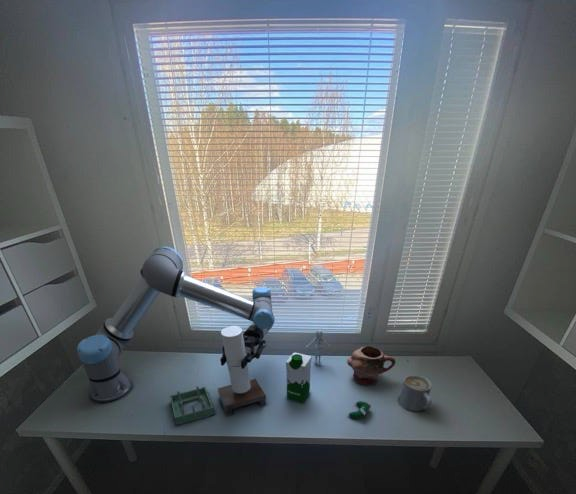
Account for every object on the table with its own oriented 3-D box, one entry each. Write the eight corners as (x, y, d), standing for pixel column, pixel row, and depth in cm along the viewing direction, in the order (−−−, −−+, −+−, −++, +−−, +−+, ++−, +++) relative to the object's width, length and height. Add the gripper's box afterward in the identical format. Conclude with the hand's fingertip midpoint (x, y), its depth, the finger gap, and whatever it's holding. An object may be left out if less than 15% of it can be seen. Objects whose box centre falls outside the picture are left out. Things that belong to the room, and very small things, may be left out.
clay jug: (386, 370, 147) (392, 343, 139) (395, 386, 137) (401, 359, 129) (343, 371, 146) (346, 344, 138) (348, 387, 136) (351, 360, 128)
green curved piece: (353, 423, 121) (365, 418, 117) (347, 415, 121) (359, 410, 117) (362, 409, 128) (374, 404, 124) (356, 401, 127) (368, 396, 123)
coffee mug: (395, 395, 132) (399, 375, 126) (418, 393, 133) (423, 373, 127) (409, 418, 121) (415, 397, 115) (434, 415, 122) (441, 395, 116)
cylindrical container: (246, 394, 121) (237, 337, 106) (229, 391, 123) (217, 335, 108) (253, 382, 127) (245, 326, 112) (236, 380, 128) (226, 325, 113)
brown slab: (219, 397, 131) (217, 388, 128) (256, 387, 136) (255, 378, 134) (226, 416, 122) (225, 406, 119) (266, 405, 127) (265, 395, 124)
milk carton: (283, 399, 130) (283, 357, 119) (293, 386, 137) (293, 346, 126) (304, 405, 127) (305, 363, 116) (312, 392, 134) (314, 351, 123)
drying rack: (171, 402, 129) (167, 388, 125) (206, 393, 133) (204, 379, 130) (176, 425, 118) (172, 410, 114) (214, 414, 123) (212, 400, 119)
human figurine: (329, 362, 152) (332, 328, 142) (330, 366, 149) (333, 332, 139) (304, 362, 152) (305, 328, 142) (304, 367, 149) (305, 332, 139)
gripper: (278, 345, 131) (259, 377, 113) (233, 338, 136) (207, 368, 118) (278, 328, 127) (258, 359, 109) (231, 322, 132) (204, 350, 113)
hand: (231, 363), depth 113 cm, fingers closed on cylindrical container, 7 cm apart
